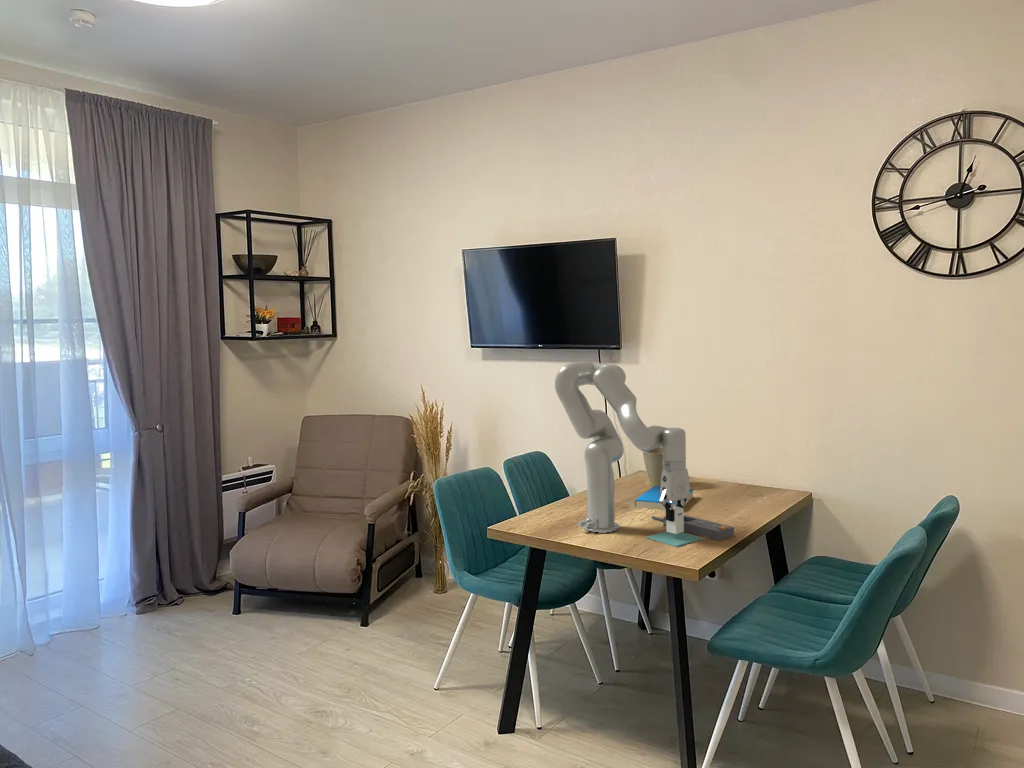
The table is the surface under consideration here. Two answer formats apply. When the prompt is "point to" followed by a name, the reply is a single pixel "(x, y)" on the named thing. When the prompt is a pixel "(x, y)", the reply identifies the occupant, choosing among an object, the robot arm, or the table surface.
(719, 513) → the table surface
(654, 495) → the book
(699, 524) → the power strip
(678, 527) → the charger plug
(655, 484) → the plant pot
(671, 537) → the mat
